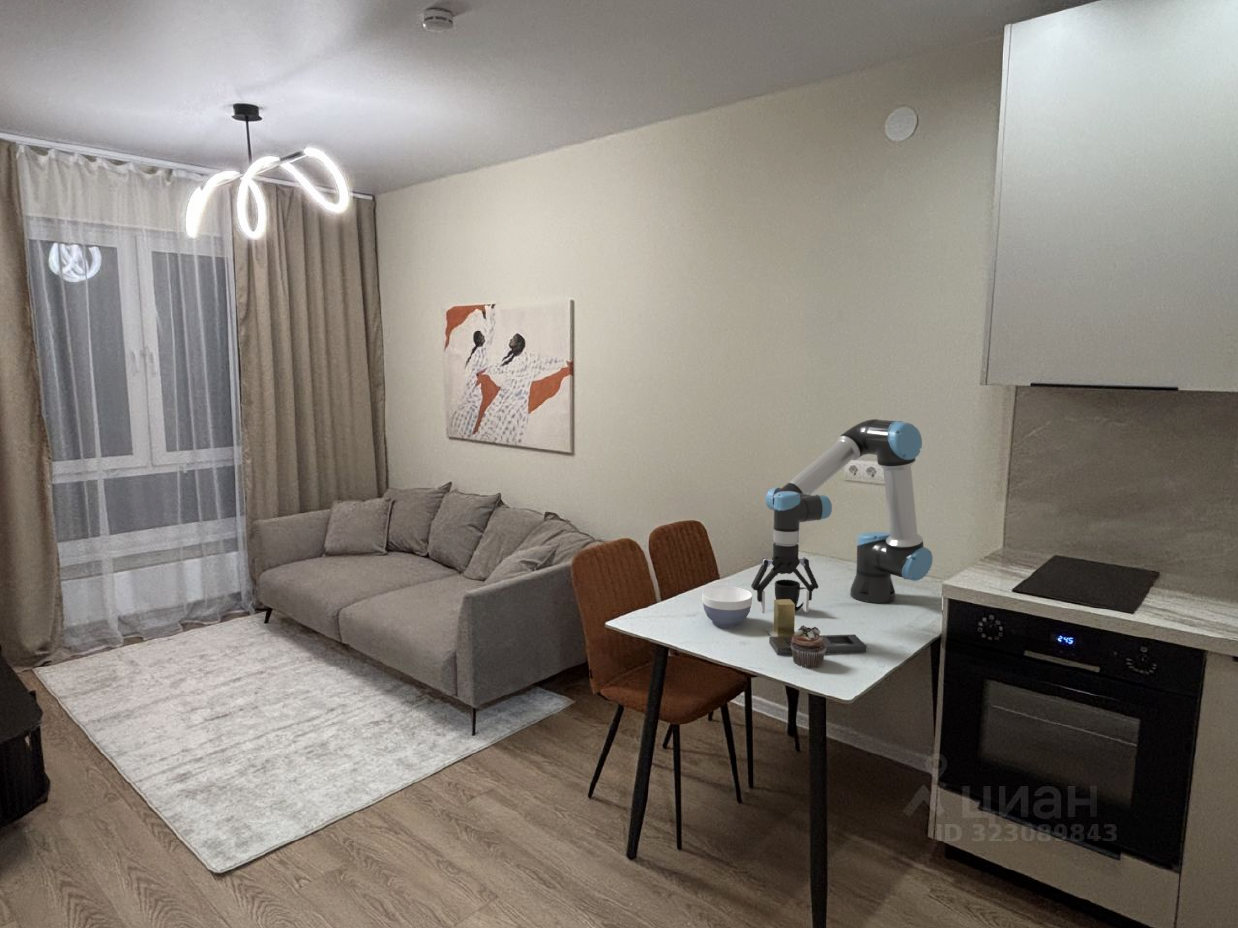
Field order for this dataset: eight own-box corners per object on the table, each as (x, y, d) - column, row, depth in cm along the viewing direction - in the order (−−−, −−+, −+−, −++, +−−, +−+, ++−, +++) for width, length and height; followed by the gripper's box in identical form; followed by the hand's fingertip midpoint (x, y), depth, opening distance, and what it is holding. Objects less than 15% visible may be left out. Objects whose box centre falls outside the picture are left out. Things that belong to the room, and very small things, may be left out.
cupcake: (787, 666, 207) (788, 631, 206) (793, 653, 216) (794, 620, 215) (823, 671, 204) (825, 636, 203) (827, 658, 213) (828, 624, 212)
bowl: (755, 617, 247) (755, 588, 246) (747, 633, 232) (747, 604, 231) (707, 612, 252) (707, 584, 251) (696, 628, 237) (697, 598, 236)
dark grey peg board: (854, 640, 226) (854, 634, 226) (866, 652, 217) (866, 645, 217) (769, 643, 224) (769, 636, 224) (777, 654, 215) (777, 648, 215)
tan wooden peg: (789, 630, 233) (790, 599, 232) (794, 636, 228) (795, 604, 227) (773, 630, 233) (774, 599, 231) (777, 636, 228) (778, 604, 226)
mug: (803, 618, 246) (804, 590, 244) (769, 610, 253) (770, 583, 252) (813, 611, 252) (814, 584, 251) (781, 604, 259) (781, 577, 258)
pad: (792, 630, 235) (792, 628, 235) (800, 639, 227) (800, 637, 227) (767, 630, 234) (767, 629, 234) (774, 640, 226) (774, 638, 226)
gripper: (822, 539, 231) (820, 606, 234) (742, 540, 229) (741, 608, 232) (830, 545, 224) (828, 614, 227) (748, 547, 222) (746, 616, 225)
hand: (784, 611), depth 230 cm, fingers open, 13 cm apart
